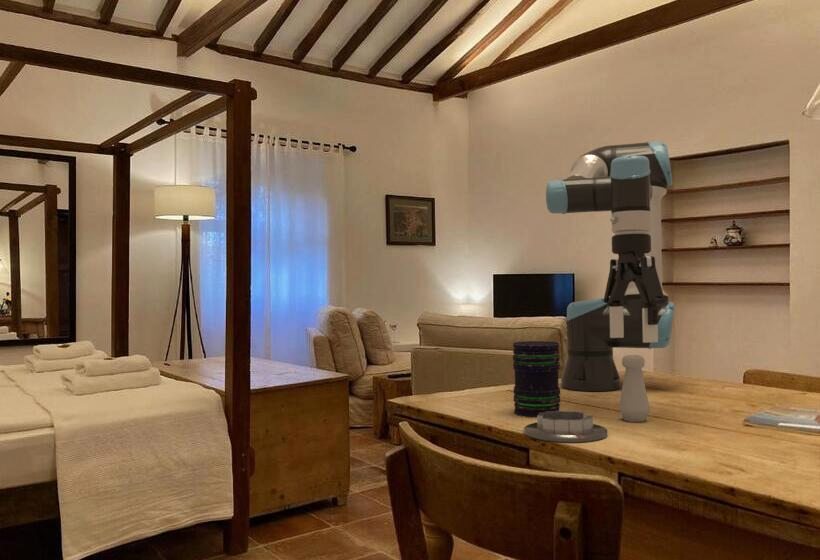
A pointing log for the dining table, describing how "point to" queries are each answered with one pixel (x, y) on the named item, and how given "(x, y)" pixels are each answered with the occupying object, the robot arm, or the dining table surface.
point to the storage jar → (536, 377)
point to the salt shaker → (634, 390)
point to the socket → (565, 427)
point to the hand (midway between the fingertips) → (632, 340)
